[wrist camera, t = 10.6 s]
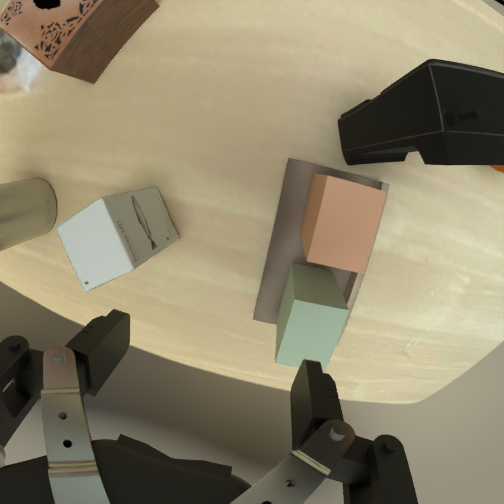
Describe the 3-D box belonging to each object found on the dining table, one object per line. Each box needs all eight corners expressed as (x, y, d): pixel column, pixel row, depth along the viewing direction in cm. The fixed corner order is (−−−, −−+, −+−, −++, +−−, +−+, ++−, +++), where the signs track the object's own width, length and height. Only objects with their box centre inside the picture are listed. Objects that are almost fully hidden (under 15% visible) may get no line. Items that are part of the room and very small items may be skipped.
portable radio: (396, 112, 29) (549, 56, 5) (403, 160, 30) (571, 171, 6) (335, 115, 30) (441, 16, 6) (343, 165, 31) (478, 167, 8)
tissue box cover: (160, 6, 27) (129, -27, 18) (95, 84, 31) (50, 70, 22) (77, -26, 24) (47, -45, 15) (29, 34, 28) (-5, 23, 19)
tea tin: (277, 314, 36) (274, 362, 26) (291, 262, 34) (294, 299, 24) (317, 322, 36) (326, 371, 26) (333, 271, 34) (351, 310, 24)
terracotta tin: (299, 233, 33) (306, 261, 23) (313, 173, 31) (327, 175, 21) (343, 243, 32) (365, 274, 23) (358, 184, 30) (388, 192, 21)
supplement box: (182, 238, 36) (135, 272, 24) (136, 257, 37) (83, 295, 25) (158, 184, 34) (101, 195, 22) (115, 208, 36) (53, 228, 24)
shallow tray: (254, 313, 38) (251, 329, 34) (288, 158, 32) (289, 157, 28) (333, 329, 37) (338, 345, 34) (378, 182, 31) (389, 184, 28)
